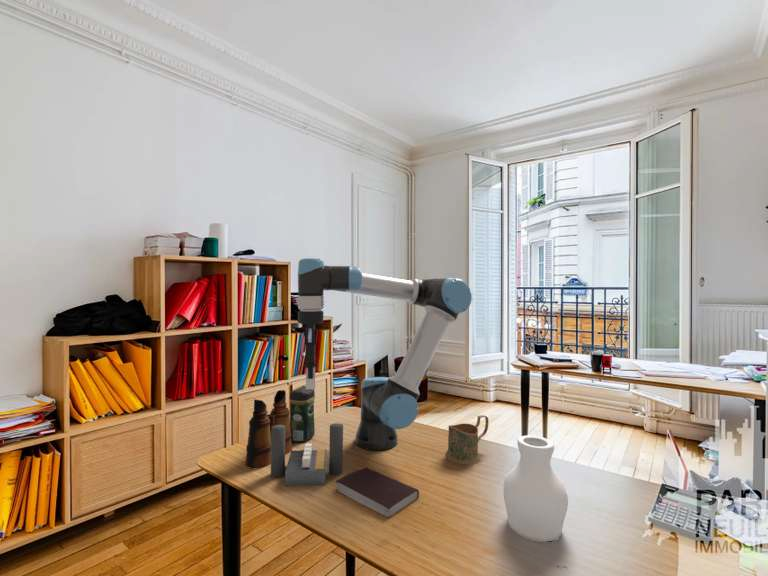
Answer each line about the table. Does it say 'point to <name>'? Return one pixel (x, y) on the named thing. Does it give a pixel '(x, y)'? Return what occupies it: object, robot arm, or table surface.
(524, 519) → the vase
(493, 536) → the table surface
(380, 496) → the book
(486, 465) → the table surface
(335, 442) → the post
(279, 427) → the post
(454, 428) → the weathered metal jug
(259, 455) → the binoculars
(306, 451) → the row of white cubes
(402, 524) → the table surface
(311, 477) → the breaker box
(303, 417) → the coffee jar
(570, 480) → the table surface
